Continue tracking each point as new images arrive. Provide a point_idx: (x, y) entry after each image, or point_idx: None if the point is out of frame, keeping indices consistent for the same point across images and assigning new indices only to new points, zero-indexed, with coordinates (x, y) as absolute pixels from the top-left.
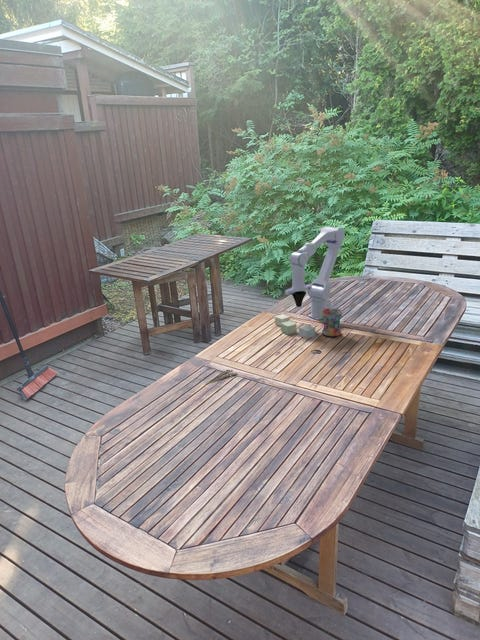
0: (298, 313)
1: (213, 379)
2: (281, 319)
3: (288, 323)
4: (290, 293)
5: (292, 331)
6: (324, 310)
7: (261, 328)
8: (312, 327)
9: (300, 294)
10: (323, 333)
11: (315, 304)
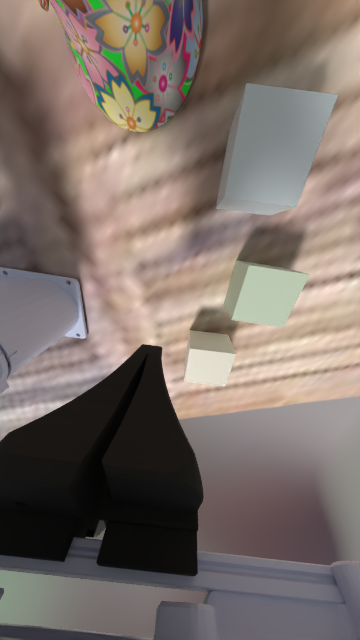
0: (99, 367)
1: None
2: (235, 353)
3: (267, 300)
4: (286, 574)
5: (260, 264)
6: None
7: (277, 369)
8: (250, 115)
9: (146, 475)
10: (197, 60)
11: (18, 329)
